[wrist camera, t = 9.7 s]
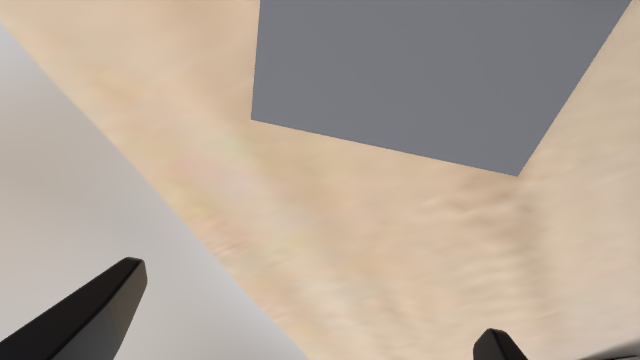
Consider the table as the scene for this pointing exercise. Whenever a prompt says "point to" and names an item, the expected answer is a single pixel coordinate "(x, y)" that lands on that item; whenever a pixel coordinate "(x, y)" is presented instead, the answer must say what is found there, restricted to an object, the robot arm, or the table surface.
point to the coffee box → (631, 359)
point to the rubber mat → (427, 72)
